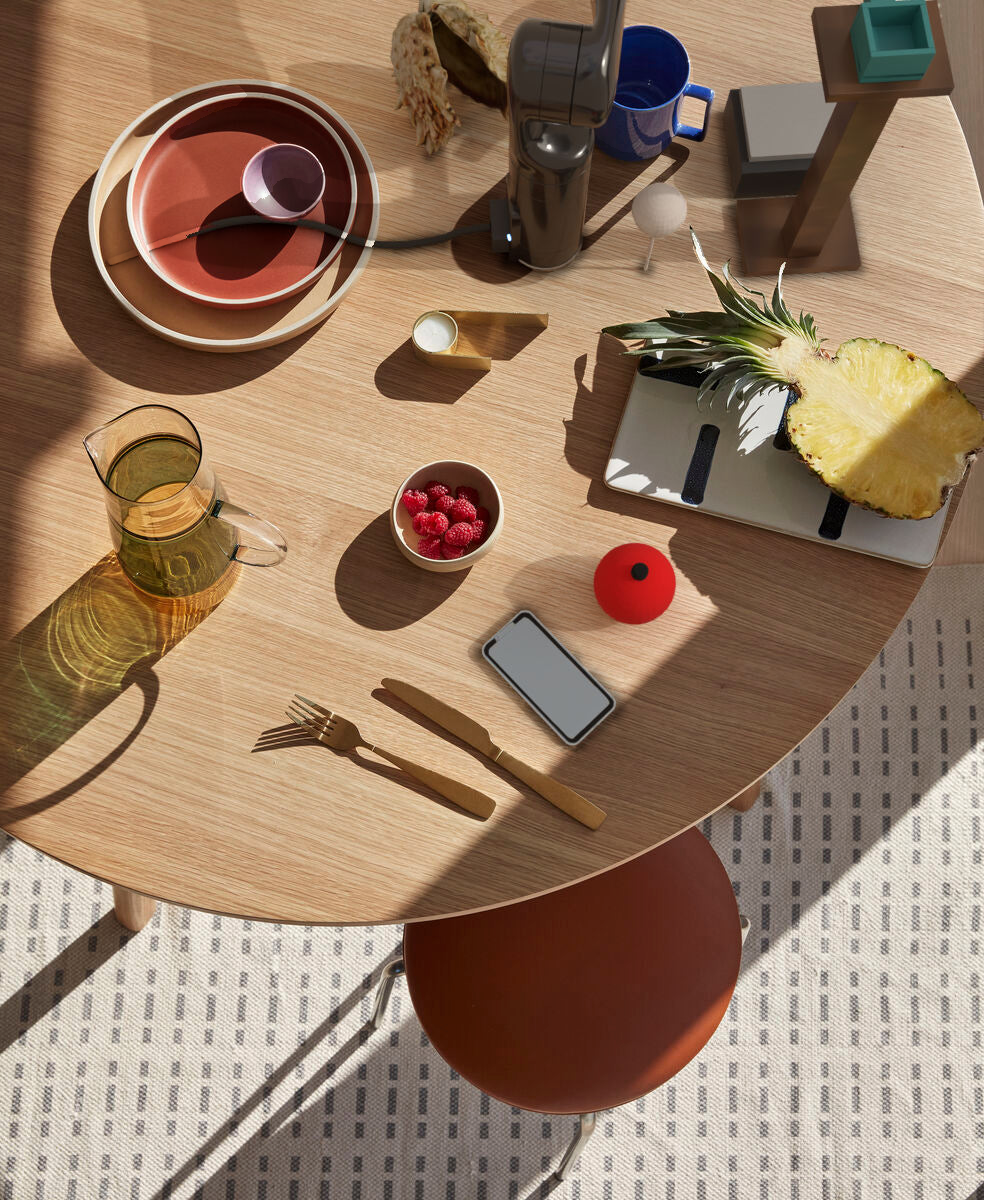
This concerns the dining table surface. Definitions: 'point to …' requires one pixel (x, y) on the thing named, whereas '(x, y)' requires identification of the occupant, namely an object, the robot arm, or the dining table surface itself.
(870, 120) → the wooden pedestal stand
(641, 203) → the lollipop
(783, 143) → the scale
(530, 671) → the smartphone
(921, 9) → the scoop
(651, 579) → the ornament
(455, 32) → the seashell
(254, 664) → the dining table surface
